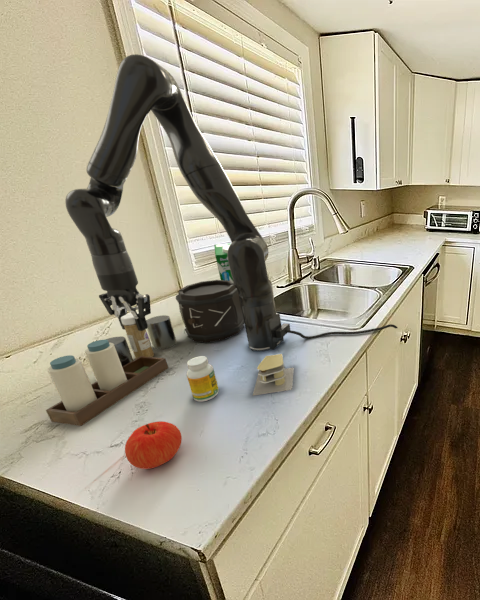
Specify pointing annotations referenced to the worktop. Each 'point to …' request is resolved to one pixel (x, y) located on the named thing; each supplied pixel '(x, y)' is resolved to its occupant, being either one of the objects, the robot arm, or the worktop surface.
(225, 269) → the milk carton
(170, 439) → the apple
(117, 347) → the grey tins
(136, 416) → the worktop surface
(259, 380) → the stacked layers on plate
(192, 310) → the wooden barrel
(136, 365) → the spice rack
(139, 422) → the worktop surface
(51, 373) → the off-white bottles
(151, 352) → the sprinkles bottle
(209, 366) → the supplement bottle
